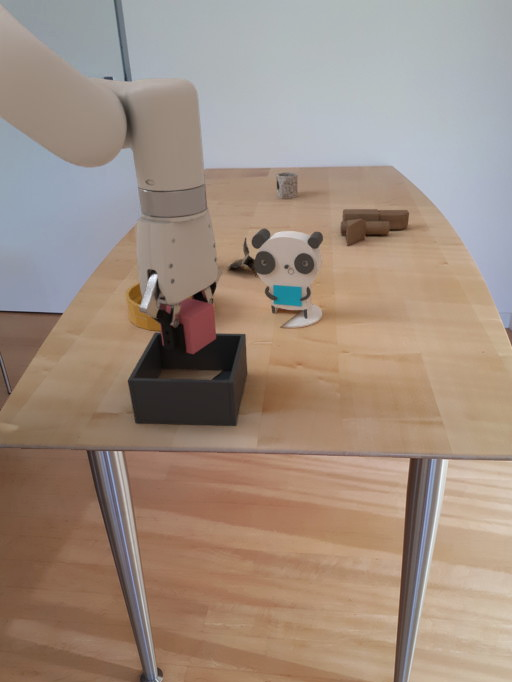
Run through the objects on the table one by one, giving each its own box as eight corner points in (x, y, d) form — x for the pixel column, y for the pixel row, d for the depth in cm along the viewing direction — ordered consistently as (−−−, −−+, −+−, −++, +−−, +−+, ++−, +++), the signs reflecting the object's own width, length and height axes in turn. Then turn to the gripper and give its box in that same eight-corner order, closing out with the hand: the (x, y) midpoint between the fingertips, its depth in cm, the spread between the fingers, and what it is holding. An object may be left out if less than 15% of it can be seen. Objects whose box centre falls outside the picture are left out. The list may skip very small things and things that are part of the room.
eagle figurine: (277, 265, 118) (251, 248, 123) (265, 243, 112) (239, 226, 117) (252, 289, 117) (227, 271, 122) (239, 269, 111) (214, 250, 116)
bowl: (179, 343, 90) (175, 315, 87) (111, 323, 97) (106, 297, 94) (231, 309, 101) (230, 284, 99) (167, 293, 108) (164, 269, 105)
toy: (193, 354, 69) (189, 318, 66) (162, 345, 71) (157, 310, 68) (216, 338, 72) (213, 303, 70) (186, 330, 75) (183, 296, 72)
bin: (135, 423, 71) (127, 380, 68) (160, 371, 82) (154, 332, 79) (236, 426, 70) (233, 382, 67) (247, 373, 81) (245, 333, 78)
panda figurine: (247, 323, 96) (243, 240, 88) (266, 298, 105) (264, 221, 97) (314, 331, 93) (316, 245, 85) (327, 304, 102) (330, 225, 95)
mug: (279, 193, 180) (279, 172, 177) (299, 194, 179) (299, 172, 175) (271, 200, 172) (271, 178, 169) (292, 201, 171) (292, 179, 167)
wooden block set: (339, 205, 144) (408, 205, 143) (338, 226, 147) (406, 226, 146) (343, 222, 129) (420, 222, 129) (342, 246, 132) (417, 246, 132)
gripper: (194, 183, 70) (206, 312, 80) (93, 214, 58) (122, 363, 67) (242, 189, 67) (249, 323, 76) (147, 223, 54) (169, 378, 64)
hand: (189, 340), depth 72 cm, fingers closed on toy, 5 cm apart
